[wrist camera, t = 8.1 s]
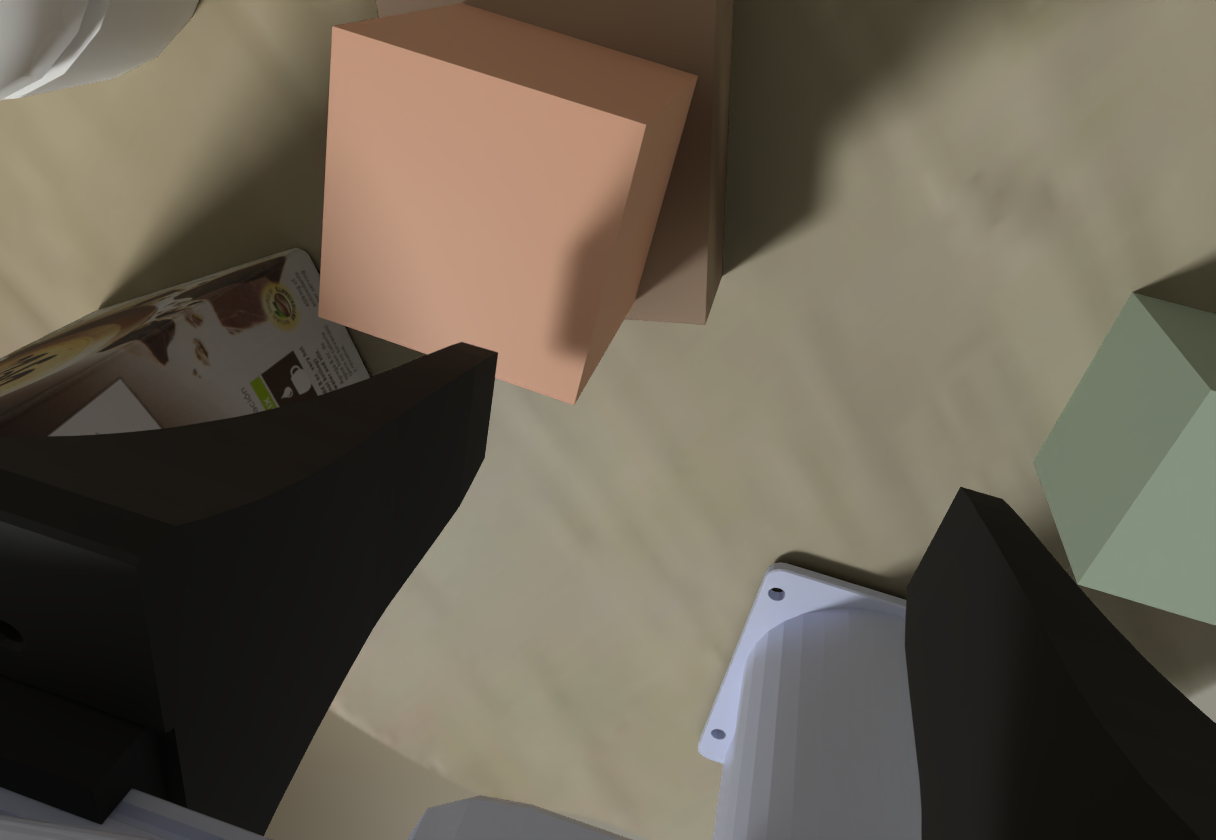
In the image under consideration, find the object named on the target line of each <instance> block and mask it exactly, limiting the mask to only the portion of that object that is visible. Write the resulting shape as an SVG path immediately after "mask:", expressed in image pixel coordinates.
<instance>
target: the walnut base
mask: <svg viewBox="0 0 1216 840" xmlns="http://www.w3.org/2000/svg"><path fill="white" fill-rule="evenodd" d="M376 3H377V10H378V17H379V18H381V17H387V16H392V15H398V14H404V13H409V12H415V11H421V10H426V9H432V8H438V7H443V6H449V5H455V4H460V3H463V4H466V5H469V6H473V7H476V8H479V9H483V10H486V11H489V12H492V13H496V14H499V15H502V16H505V17H509V18H512V19H515V20H519V21H522V22H525V23H528V24H532V25H535V26H538V27H541V28H545V29H548V30H551V31H554V32H558V33H561V34H564V35H567V36H571V37H574V38H577V39H580V40H584V41H587V42H590V43H593V44H597V45H600V46H603V47H606V48H610V49H613V50H616V51H619V52H623V53H626V54H629V55H632V56H636V57H639V58H642V59H645V60H649V61H652V62H655V63H658V64H662V65H665V66H668V67H671V68H675V69H678V70H681V71H684V72H688V73H691V74H694V75H697V76H698V79H697V82H696V86H695V89H694V93H693V96H692V100H691V103H690V107H689V111H688V114H687V118H686V121H685V125H684V128H683V132H682V135H681V139H680V142H679V146H678V149H677V153H676V157H675V160H674V164H673V167H672V171H671V174H670V178H669V181H668V185H667V188H666V192H665V196H664V199H663V203H662V206H661V210H660V213H659V217H658V220H657V224H656V227H655V231H654V234H653V238H652V242H651V245H650V249H649V252H648V256H647V259H646V263H645V266H644V270H643V273H642V277H641V280H640V284H639V288H638V291H637V295H636V298H635V302H634V303H633V305H632V307H631V308H630V310H629V312H628V314H627V315H626V317H625V319H629V320H643V321H658V322H672V323H686V324H700V325H705V324H706V321H707V318H708V315H709V312H710V310H711V307H712V304H713V301H714V298H715V295H716V292H717V289H718V286H719V283H720V280H721V278H722V263H723V240H724V216H725V193H726V170H727V147H728V124H729V101H730V78H731V55H732V32H733V9H734V0H376Z"/></svg>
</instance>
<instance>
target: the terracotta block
mask: <svg viewBox="0 0 1216 840" xmlns="http://www.w3.org/2000/svg"><path fill="white" fill-rule="evenodd" d="M697 79H698V76H697V75H694V74H691V73H688V72H684V71H681V70H678V69H675V68H671V67H668V66H665V65H662V64H658V63H655V62H652V61H649V60H645V59H642V58H639V57H636V56H632V55H629V54H626V53H623V52H619V51H616V50H613V49H610V48H606V47H603V46H600V45H597V44H593V43H590V42H587V41H584V40H580V39H577V38H574V37H571V36H567V35H564V34H561V33H558V32H554V31H551V30H548V29H545V28H541V27H538V26H535V25H532V24H528V23H525V22H522V21H519V20H515V19H512V18H509V17H505V16H502V15H499V14H496V13H492V12H489V11H486V10H483V9H479V8H476V7H473V6H469V5H466V4H463V3H460V4H455V5H449V6H443V7H438V8H432V9H426V10H421V11H415V12H409V13H404V14H398V15H392V16H387V17H381V18H375V19H370V20H364V21H358V22H353V23H347V24H342V25H336V26H332V45H331V65H330V86H329V106H328V127H327V147H326V168H325V188H324V209H323V229H322V250H321V270H320V291H319V311H318V317H321V318H323V319H326V320H329V321H332V322H335V323H338V324H341V325H344V326H347V327H349V328H352V329H355V330H358V331H361V332H364V333H367V334H370V335H373V336H375V337H378V338H381V339H384V340H387V341H390V342H393V343H396V344H399V345H401V346H404V347H407V348H410V349H413V350H416V351H419V352H422V353H425V354H427V355H428V354H430V353H433V352H435V351H438V350H440V349H443V348H445V347H448V346H451V345H453V344H457V343H460V342H464V343H468V344H471V345H475V346H478V347H481V348H485V349H488V350H492V351H495V352H498V358H497V366H496V374H495V378H497V379H500V380H502V381H505V382H508V383H511V384H514V385H517V386H520V387H523V388H526V389H528V390H531V391H534V392H537V393H540V394H543V395H546V396H549V397H552V398H554V399H557V400H560V401H563V402H566V403H569V404H572V405H574V404H575V403H576V401H577V399H578V398H579V396H580V394H581V392H582V391H583V389H584V387H585V386H586V384H587V382H588V380H589V379H590V377H591V375H592V374H593V372H594V370H595V368H596V367H597V365H598V363H599V362H600V360H601V358H602V356H603V355H604V353H605V351H606V350H607V348H608V346H609V344H610V343H611V341H612V339H613V338H614V336H615V334H616V332H617V331H618V329H619V327H620V326H621V324H622V322H623V320H624V319H625V317H626V315H627V314H628V312H629V310H630V308H631V307H632V305H633V303H634V302H635V298H636V295H637V291H638V288H639V284H640V280H641V277H642V273H643V270H644V266H645V263H646V259H647V256H648V252H649V249H650V245H651V242H652V238H653V234H654V231H655V227H656V224H657V220H658V217H659V213H660V210H661V206H662V203H663V199H664V196H665V192H666V188H667V185H668V181H669V178H670V174H671V171H672V167H673V164H674V160H675V157H676V153H677V149H678V146H679V142H680V139H681V135H682V132H683V128H684V125H685V121H686V118H687V114H688V111H689V107H690V103H691V100H692V96H693V93H694V89H695V86H696V82H697Z"/></svg>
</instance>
